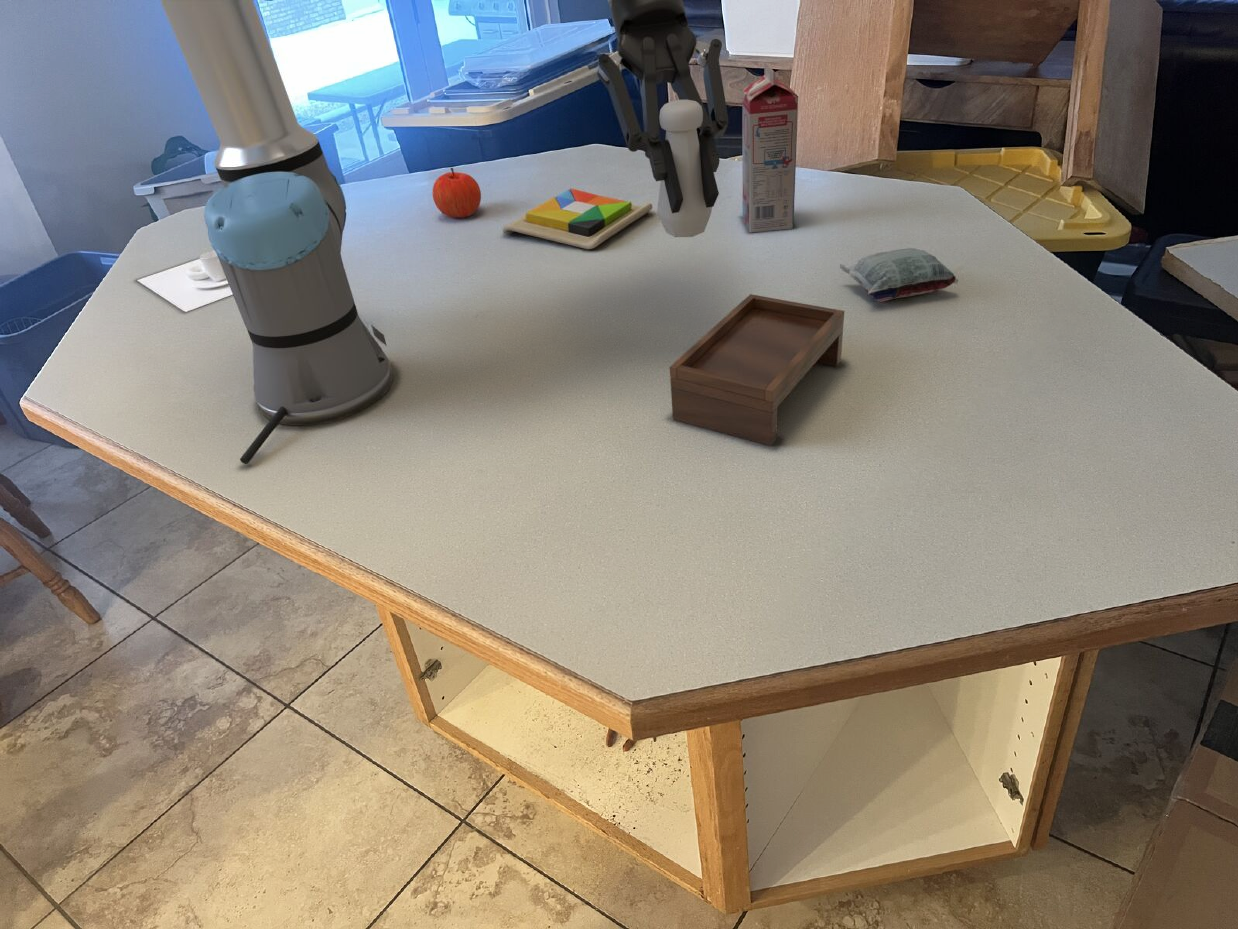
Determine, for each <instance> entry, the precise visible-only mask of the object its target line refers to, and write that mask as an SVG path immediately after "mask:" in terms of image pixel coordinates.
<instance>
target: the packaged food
mask: <svg viewBox="0 0 1238 929" xmlns="http://www.w3.org/2000/svg"><path fill="white" fill-rule="evenodd" d="M839 268H840V269H841V271H842V272H844V273H846V274H848V275H849V276H850V278H852V279H853V280H854V281H855V282H856V283H858V284H859V285H860V286H862V287H863V288H864V289H865V290H867V292H868V293H867V294H866V296H868V295H869V297H870V298H873V299H874V300H875V301H877V302H886V301H890V300H895V299H899V298H908V297H914V296H918V295H924V294H929V293H933V292H937V291H940V290H942V289H946V288H948V287H950V286H952V285H953V284H957V283H958V282H959V281H958V279H956V278H957V276H955V274H954V272H952V271H951V270H950V269H949V268H948V267H947V266H945V264H943V262H941V261H940V260H939V259H938V258H937V257H936V256H934V255H933V254H931V253H929V252H927V251H926V250H923V249H918V248H915V247H914V248H912V247H908V248H901V249H894V250H890V251H889V250H888V251H883V252H878V253H873V254H870V255H867V256H865V257H862V258H861V259H856V260H854V262H851V263H849V264H846V265H843V264H841V263H839Z"/></svg>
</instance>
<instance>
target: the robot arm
mask: <svg viewBox="0 0 1238 929" xmlns="http://www.w3.org/2000/svg"><path fill="white" fill-rule="evenodd" d="M159 2H160V4H161V6H162V8H163V11H164V13H165V15H166V18H167V20H168V22H169V25H170V27H171V30H172V32H173V34H174V37H175V40H176V41H177V43H178V46H179V49H180V51H181V53H182V56H183V57H184V60H185V63H186V65H187V67H188V70H189V72H190V74H191V77H192V79H193V81H194V84H195V86H196V88H197V91H198V94H199V96H200V98H201V101H202V103H203V105H204V108H205V110H206V112H207V115H208V117H209V119H210V121H211V125H212V126H213V128H214V131H215V133H216V136H217V138H218V140H219V149H218V151H217V154H216V155H215V157H214V160H213V165H214V168H215V170H216V173H217V174H218V177H219V179H220V181H221V183H222V186H223V187H221V188H219V189H218V190H216V191H215V193H213V194H212V195H211V196H210V198H209V199H208V201H207V202H206V204H205V206H204V212H203V214H204V216H203V217H204V222H205V225H206V229H207V237H208V240H209V242H210V244H211V248H212V249H213V250H212V251H215V252H216V254H217V256H218V258H219V261H220V264H221V266H222V269H223V271H224V274H225V276H226V279H227V281H228V284H229V286H230V289H231V291H232V294H233V295H232V297H233V299H234V301H235V303H236V306H237V308H238V311H239V314H240V316H241V319H242V322H243V324H244V326H245V329H246V331H247V333H248V336H249V339H250V341H251V344H252V364H253V365H252V366H253V368H252V369H253V392H254V398H255V401H256V403H257V406H258V408H259V411H260V413H261V414H262V415H263V417H265V418H266V419H268V420H269V421H268V422H267V423H266V425H265V426H264V427H263V429H262V430H261V431H260V433H259V434H257V436H256V437H255V439H254V440H253V441H252V442H251V443H250V445H249V446H248V448H246V450H245V452H244V453H243V454H242V455H241V457H240V458H239V461H240V463H242V464H243V465H248V464H249V463H250V462H251V461H252V459H253V458H254V457H255V455H256V454H257V452H258V451H259V450H260V448H262V446H263V444H264V443H265V442H266V441H267V440H268V438H269V436H270V435H271V434H272V433H273V432H274V430H275V429H276V428H277V426H278V425H279V424H282V425H288V426H308V425H309V426H310V425H318V424H324V423H328V422H332V421H336V420H340V419H342V418H346V417H348V416H351V415H353V414H355V413H356V414H357V413H358V412H360V411H362V410H363V409H365V408H367V407H369V406H371V405H373V404H374V403H376V401H378V400H380V398H381V397H383V396H384V395H385V394H386V392H387V391H388V390H389V389H390V387H391V386H392V382H393V379H394V376H393V375H394V374H393V370H392V367H391V363H390V360H389V358H388V356H387V355H386V353H385V351H384V350H383V349H382V347H381V345H379V343H378V341H377V340H379V341H380V342H381V343H382V344H383V345H385V346H386V347H388V345H387V342H386V338H385V335H384V334H383V333H382V332H381V331H379V329H377V328H376V327H375V326H374V325H372V324H370V326H371V329H372V332H373V335H372V333H371V332H370V330H369V329H368V328H367V326H366V325H365V323H364V322H363V321H362V319H361V318H360V316H359V313H358V309H357V306H356V302H355V300H354V296H353V292H352V289H351V285H350V283H349V282H350V281H349V279H348V276H347V273H346V269H345V265H344V263H343V258H342V244H343V233H344V230H345V226H346V222H347V221H346V220H347V212H346V210H347V204H346V203H347V202H346V198H345V194H344V191H343V189H342V188H343V187H342V186H341V184H340V183H339V181H338V180H337V177H336V176H335V175H334V173H333V172H332V171H331V169H330V168H329V166H328V163H327V160H326V157H325V154H324V152H323V149H322V147H321V146H322V145H321V143H320V141H319V138H318V136H317V135H316V134H315V133H314V132H311V131H309V130H308V129H306V128H305V127H303V126H302V125H300V124H299V122H298V119H297V116H296V114H295V111H294V108H293V105H292V103H291V100H290V98H289V95H288V91H287V89H286V86H285V83H284V81H283V78H282V76H281V75H282V74H281V73H280V70H279V67H278V65H277V61H276V59H275V56H274V54H273V50H272V48H271V45H270V43H269V40H268V37H267V34H266V32H265V29H264V26H263V23H262V21H261V18H260V15H259V12H258V10H257V6H256V4H255V1H254V0H159ZM607 2H608V6H609V8H610V15H611V19H612V23H613V24H612V25H613V28H614V32H615V36H616V41H617V45H616V50H615V51H614V52H613V53H611V54H610V55H608V54H607V53H602V54H600V55H599V57H598V61H597V71H596V76H597V78H598V79H599V80H600V81H601V82H602V84H603V86H605V88H606V89H607V92H608V93H609V96H610V97H609V98H610V100H611V102H612V105H613V108H614V111H615V114H616V118H617V120H618V124H619V126H620V129H621V132H622V135H623V138H624V141H625V143H626V147H627V149H628V151H630V152H631V153H632V152H633V153H635V152H637V151H640V152H641V151H642V152H644V155H645V157H646V158H647V159H648V161H649V165H650V168H651V172H652V176H653V178H654V180H655V182H661V181H662V180H664V181H665V187H666V191H667V195H668V199H669V203H670V208H671V212H672V213H677V212H679V211H680V208H681V205H682V202H683V196H682V192H681V188H680V183H679V179H678V175H677V171H676V167H675V163H674V159H673V155H672V151H671V147H670V143H669V140H665V139H664V140H661V125H660V119H659V116H660V111H659V102H658V88H657V85H659V84H661V83H666V84H667V83H669V84H670V86H671V89H672V91H673V93H675V94H676V96H677V98H678V100H692V101H696V102H698V103H699V104H700V105H701V106H702V111H703V121H702V124H701V126H700V127H698V128H697V129H696V130H697V135H698V141H699V147H700V161H701V173H702V184H703V194H704V200H705V204H706V208H708V207H712V208H713V207H714V206H715V204H716V202H717V199H718V197H719V194H720V192H719V188H718V183H717V180H716V177H715V173H717V170H718V169H719V165H720V162H721V160H720V156H719V153H718V148H717V145H716V140H720V139H722V138H723V137H724V135H725V132H726V129H727V127H728V124H729V114H728V108H727V102H726V95H725V89H724V83H723V77H722V71H721V65H720V56H721V52H722V47H723V43H722V40H720V39H718V38H713V39H712V40H711V41H710V42H705V41H702V40H698V39H697V36H696V34H695V33H694V32H693V31H692V29H691V28H690V26H689V23H688V18H687V14H686V13H687V12H686V9H685V6H684V2H683V0H607ZM693 55H695V56H696V57H697V62H698V64H699V67H700V68H703V71H702V76H703V83H704V84H703V85H704V91H705V97H706V104H707V110H708V112H707V110H706V108H705V105H704V103H703V100H702V98H701V96H700V94H699V91H698V89H697V86H696V84H695V82H694V79H693V77H692V74H691V67H690V65H689V63H690V61H691V60H692V58H693ZM623 67H624V68H625V69H626V70H627V71H628V72H629V73H631V74H632V76H634V77H635V78H636V79H638V80H639V90H640V91H639V92H640V96H641V105H642V106H641V107H642V119H643V120H642V121H643V131H642V129H641V126H640V123H639V120H638V117H637V115H636V112H635V109H634V108H635V107H634V105H633V103H632V100H631V97H630V94H629V91H628V88H627V85H626V82H625V80H624V79H625V78H624V76H623V73H622V70H623ZM375 338H376V339H377V340H376V339H375Z"/></svg>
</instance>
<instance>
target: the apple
mask: <svg viewBox="0 0 1238 929" xmlns="http://www.w3.org/2000/svg"><path fill="white" fill-rule="evenodd" d="M450 170H451V172H450V171H449V172H446V173H444V174H442V175H440V176H439V177H437V178H436V180H435V181H434V183H433V186H432V200H433V202H434V205H435V206H436V208H437V209H438V210H439V212H441V213H442V214H443V215H444V216H446V217H448V218H449V217H450V218H452V219H456V218H467V217H469V216H472V215H474V213H476V212H477V210H478V209H479V207H480V205H481V200H482V190H481V188H480V185H479V184H478V181H476V179H475V178H473V177H472V176H471V175H469V174H467V173H463V172H459V171H454V168H453V167H451V168H450Z"/></svg>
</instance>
